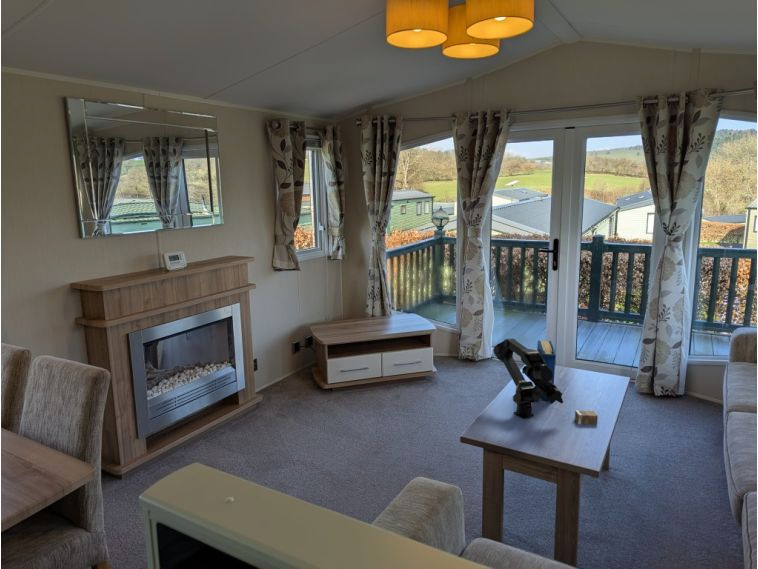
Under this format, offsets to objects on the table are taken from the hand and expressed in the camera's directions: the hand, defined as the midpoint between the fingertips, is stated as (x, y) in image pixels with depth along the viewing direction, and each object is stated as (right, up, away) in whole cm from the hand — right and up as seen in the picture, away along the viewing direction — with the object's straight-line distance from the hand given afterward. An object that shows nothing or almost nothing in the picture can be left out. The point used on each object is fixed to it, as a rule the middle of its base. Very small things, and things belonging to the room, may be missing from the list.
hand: (562, 402), depth 231 cm
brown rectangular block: (+7, -7, +1) cm, 9 cm away
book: (+2, -3, +32) cm, 32 cm away
